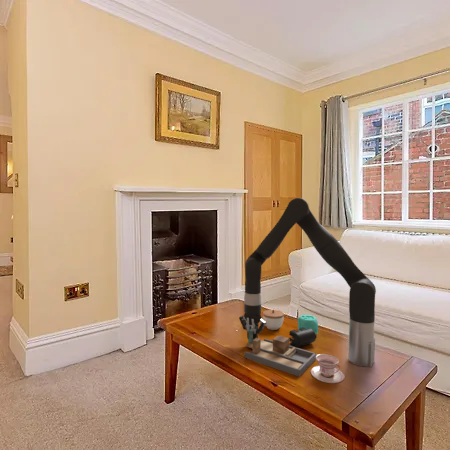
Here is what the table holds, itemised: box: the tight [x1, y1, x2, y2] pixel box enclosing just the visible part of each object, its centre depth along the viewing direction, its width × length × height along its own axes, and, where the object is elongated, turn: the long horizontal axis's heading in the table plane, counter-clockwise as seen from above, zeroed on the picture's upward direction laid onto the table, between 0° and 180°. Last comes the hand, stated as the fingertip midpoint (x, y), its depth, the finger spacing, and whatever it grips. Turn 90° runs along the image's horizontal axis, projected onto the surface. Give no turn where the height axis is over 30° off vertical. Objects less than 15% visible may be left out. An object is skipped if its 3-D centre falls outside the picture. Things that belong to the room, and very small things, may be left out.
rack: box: [244, 338, 317, 377], centre depth 130 cm, size 24×17×2 cm
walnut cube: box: [272, 334, 290, 354], centre depth 133 cm, size 5×5×5 cm
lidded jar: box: [262, 309, 285, 331], centre depth 163 cm, size 11×11×9 cm
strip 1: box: [245, 328, 296, 357], centre depth 136 cm, size 20×8×6 cm, turn 54°
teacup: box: [310, 353, 345, 384], centre depth 118 cm, size 12×12×6 cm
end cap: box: [288, 327, 317, 348], centre depth 143 cm, size 10×7×7 cm
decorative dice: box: [297, 314, 319, 335], centre depth 156 cm, size 8×8×8 cm
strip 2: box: [252, 337, 302, 369], centre depth 126 cm, size 20×5×6 cm, turn 54°
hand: (252, 340), depth 142 cm, fingers closed on strip 1, 2 cm apart
